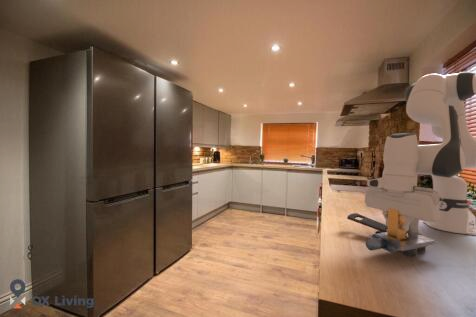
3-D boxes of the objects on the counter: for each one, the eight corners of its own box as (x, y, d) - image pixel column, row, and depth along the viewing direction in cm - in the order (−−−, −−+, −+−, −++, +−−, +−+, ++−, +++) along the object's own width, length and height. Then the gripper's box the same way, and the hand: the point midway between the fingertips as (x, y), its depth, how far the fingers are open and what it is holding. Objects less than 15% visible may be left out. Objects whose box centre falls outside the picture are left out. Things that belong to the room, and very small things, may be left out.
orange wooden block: (394, 244, 71) (396, 207, 71) (404, 247, 68) (406, 210, 68) (386, 245, 69) (388, 208, 69) (396, 249, 66) (398, 210, 66)
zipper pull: (355, 212, 95) (429, 229, 75) (354, 226, 96) (428, 247, 76) (344, 216, 90) (421, 235, 70) (344, 231, 90) (420, 255, 70)
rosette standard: (400, 246, 78) (403, 196, 77) (434, 258, 68) (437, 202, 68) (354, 255, 69) (356, 199, 68) (386, 271, 60) (389, 206, 59)
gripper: (446, 189, 60) (443, 238, 60) (374, 180, 79) (373, 217, 79) (432, 189, 57) (430, 241, 58) (362, 180, 76) (360, 219, 77)
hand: (396, 227), depth 69 cm, fingers closed on orange wooden block, 3 cm apart
